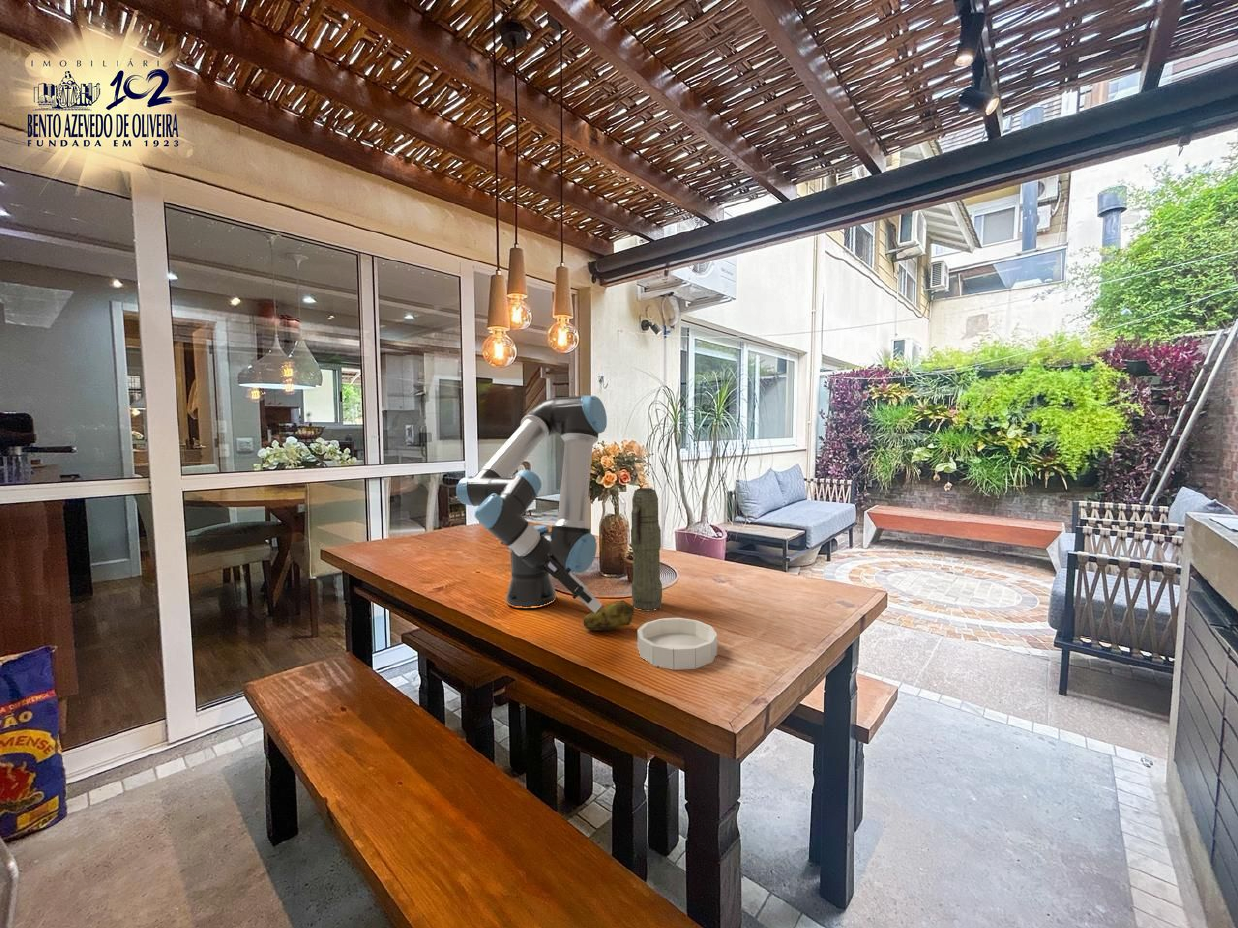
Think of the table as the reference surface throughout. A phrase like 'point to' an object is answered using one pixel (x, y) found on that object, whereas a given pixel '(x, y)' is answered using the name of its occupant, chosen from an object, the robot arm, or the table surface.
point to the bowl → (677, 643)
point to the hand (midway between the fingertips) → (591, 599)
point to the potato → (610, 616)
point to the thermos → (646, 550)
